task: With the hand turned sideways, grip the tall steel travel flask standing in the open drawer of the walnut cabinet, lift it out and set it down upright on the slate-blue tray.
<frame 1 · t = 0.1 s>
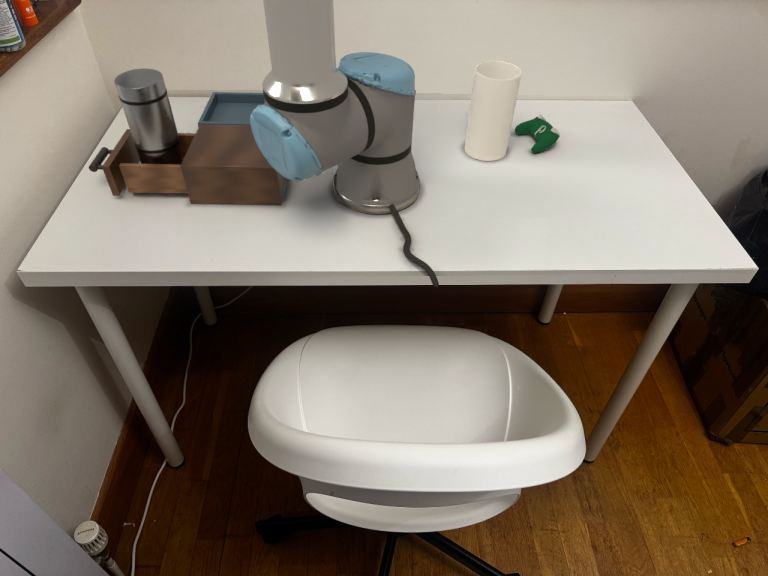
cup: (485, 150, 111), on the table
cabinet: (243, 182, 102), on the table
tray: (240, 118, 118), on the table
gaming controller: (535, 142, 114), on the table
drawer: (149, 162, 99), point 4 cm above the table, slide at 12.0 cm, touching steel travel flask
steel travel flask: (166, 171, 100), point 2 cm above the table, touching drawer
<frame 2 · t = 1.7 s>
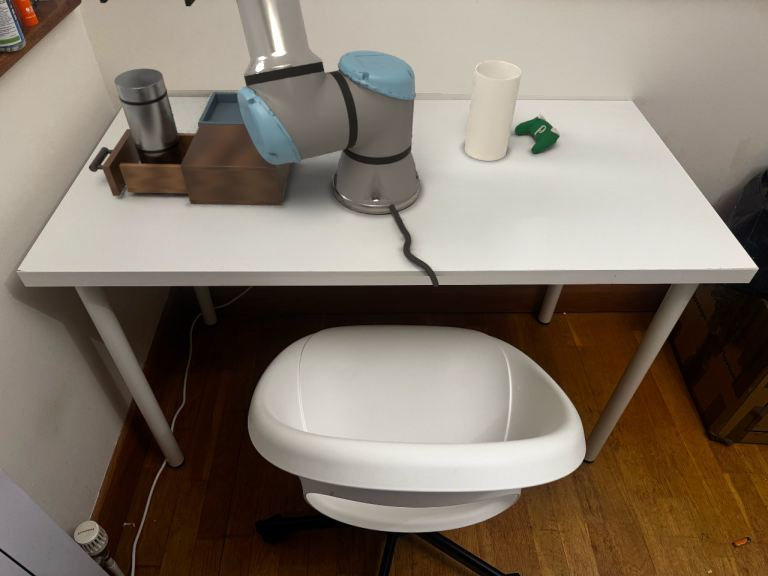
nothing on the table moved.
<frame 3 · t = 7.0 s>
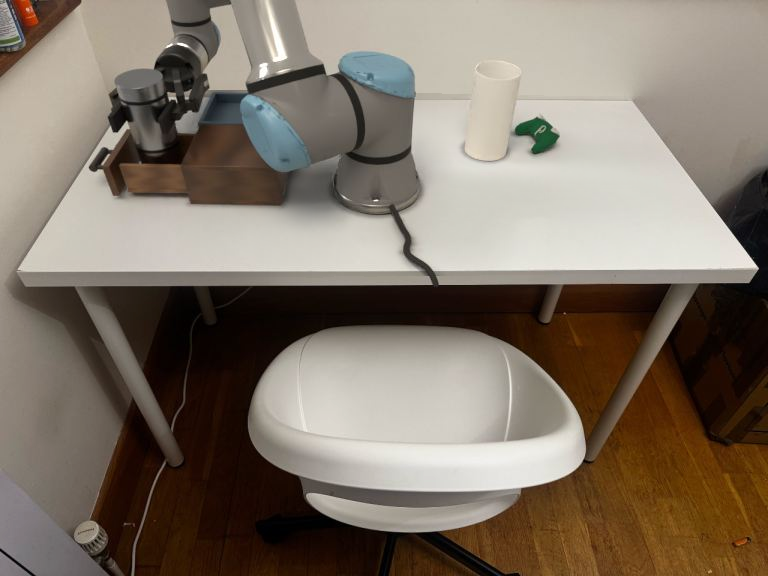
hand: (137, 125, 89), 13 cm above the table, tool horizontal, fingers closed on steel travel flask, 7 cm apart
steel travel flask: (166, 171, 100), point 2 cm above the table, touching drawer, gripper
everything else where it was.
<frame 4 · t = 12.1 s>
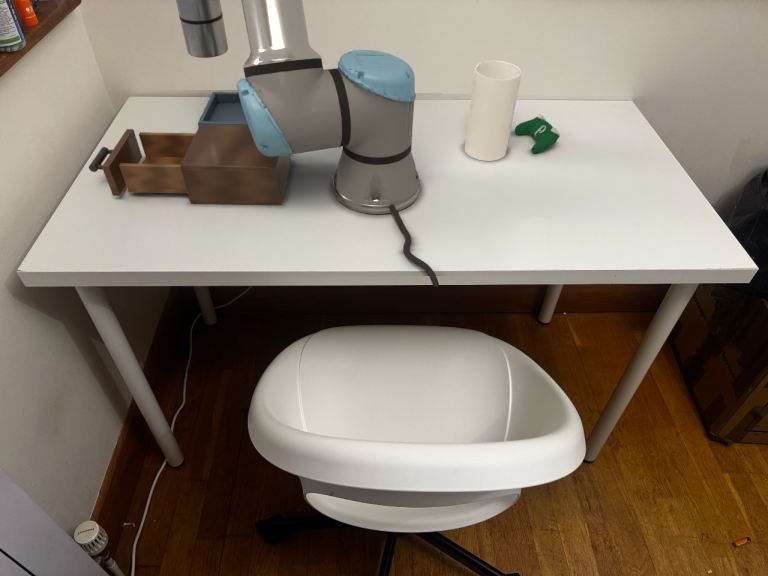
drawer: (149, 162, 99), point 4 cm above the table, slide at 12.0 cm
steel travel flask: (208, 49, 102), point 17 cm above the table, touching gripper
everything else where it was.
when the fingers open (12 cm above the table, at t = 17.6 s): steel travel flask stays where it is, resting on tray.
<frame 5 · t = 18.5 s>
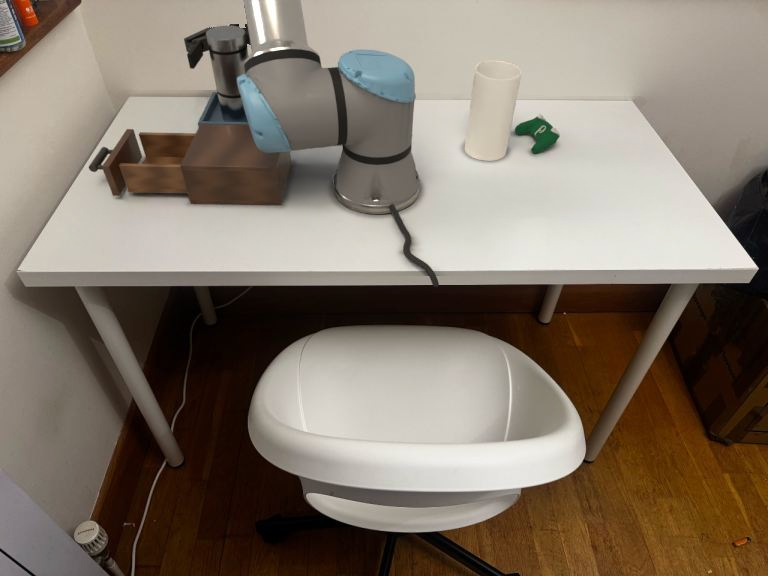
hand: (225, 63, 107), 13 cm above the table, tool horizontal, fingers open, 13 cm apart
steel travel flask: (239, 116, 118), resting on tray
everything else where it was.
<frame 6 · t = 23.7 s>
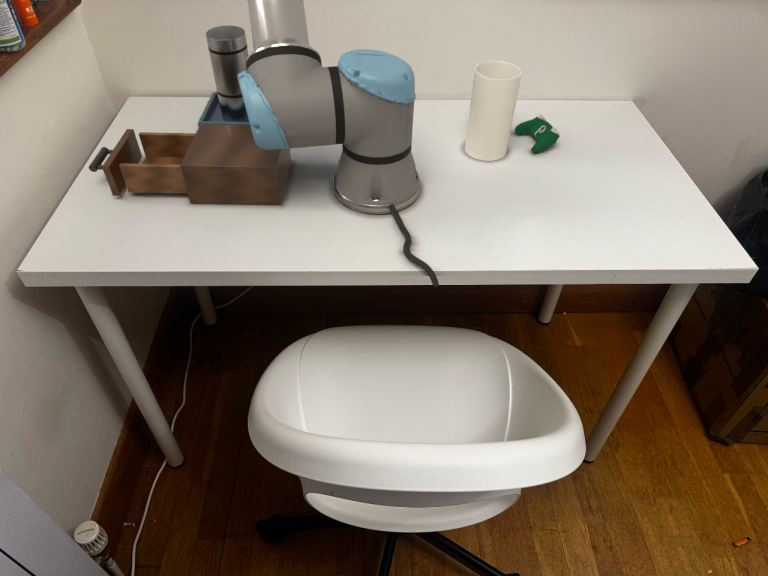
nothing on the table moved.
at the end: steel travel flask inside the target area in the tray (0.1 cm from its centre), point 0.5 cm above the tray's base; steel travel flask tilted 0°; the gripper is holding nothing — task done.
